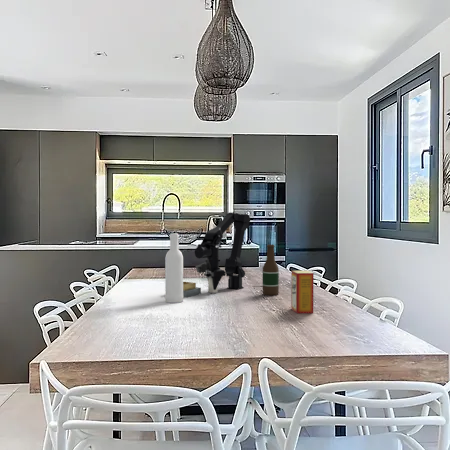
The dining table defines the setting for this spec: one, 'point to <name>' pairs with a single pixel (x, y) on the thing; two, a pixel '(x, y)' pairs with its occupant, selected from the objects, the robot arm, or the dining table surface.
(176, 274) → the bottle
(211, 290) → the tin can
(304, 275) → the baking soda box
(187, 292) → the gearbox
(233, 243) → the robot arm
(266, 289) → the beer bottle
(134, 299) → the dining table surface
